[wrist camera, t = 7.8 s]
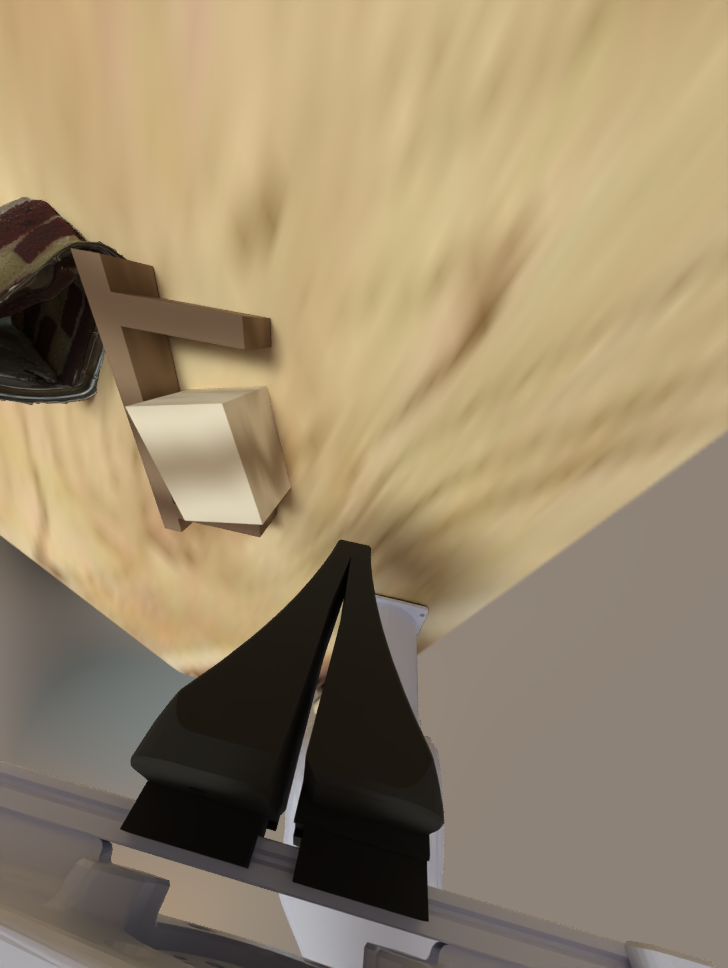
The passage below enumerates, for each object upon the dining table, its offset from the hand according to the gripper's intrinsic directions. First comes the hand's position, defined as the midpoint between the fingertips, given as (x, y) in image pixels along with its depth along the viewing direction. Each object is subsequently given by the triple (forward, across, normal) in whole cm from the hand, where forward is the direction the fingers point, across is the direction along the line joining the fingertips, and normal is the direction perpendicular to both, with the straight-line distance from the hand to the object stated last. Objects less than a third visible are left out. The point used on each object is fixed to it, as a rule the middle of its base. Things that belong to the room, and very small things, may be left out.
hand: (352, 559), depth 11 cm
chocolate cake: (+10, +22, -7) cm, 25 cm away
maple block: (+10, +10, 0) cm, 14 cm away
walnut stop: (+9, +12, -1) cm, 15 cm away
